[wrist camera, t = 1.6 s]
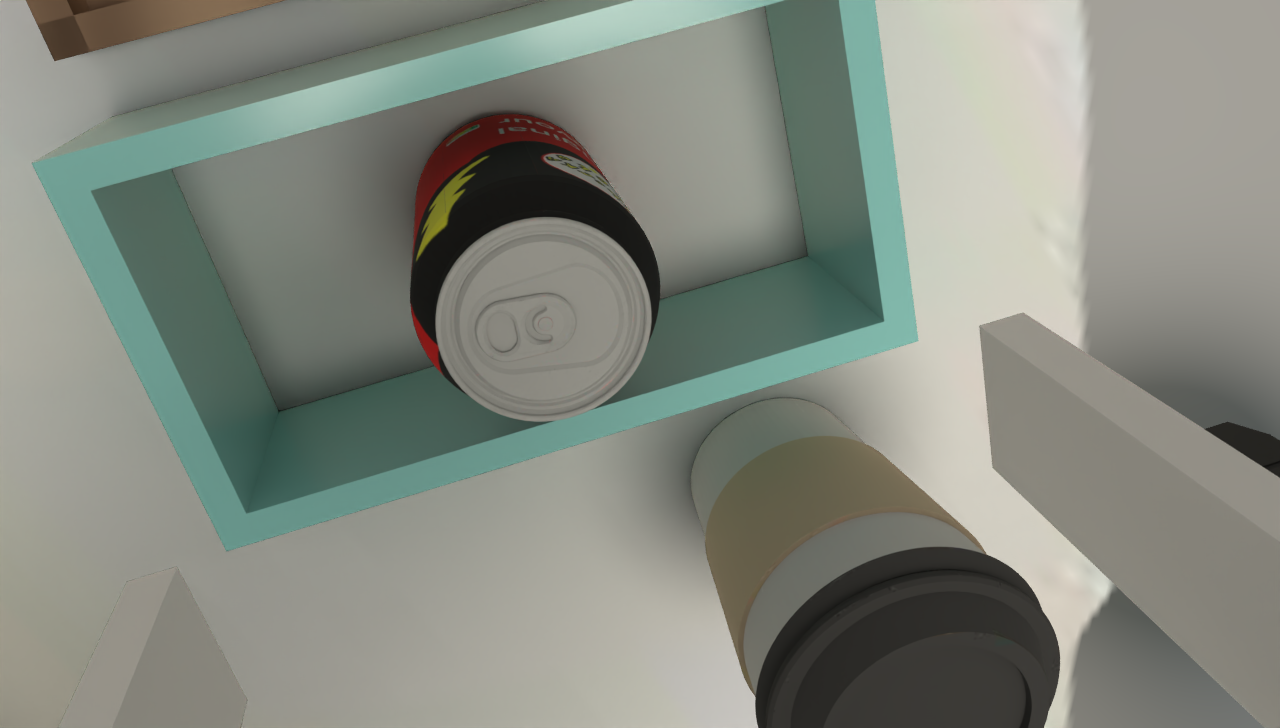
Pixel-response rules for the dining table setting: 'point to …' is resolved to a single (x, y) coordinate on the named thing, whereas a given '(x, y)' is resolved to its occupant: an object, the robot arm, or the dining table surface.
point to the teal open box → (425, 400)
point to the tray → (122, 20)
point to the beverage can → (528, 271)
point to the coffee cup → (860, 585)
